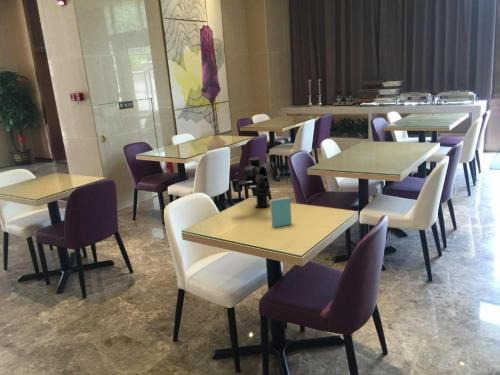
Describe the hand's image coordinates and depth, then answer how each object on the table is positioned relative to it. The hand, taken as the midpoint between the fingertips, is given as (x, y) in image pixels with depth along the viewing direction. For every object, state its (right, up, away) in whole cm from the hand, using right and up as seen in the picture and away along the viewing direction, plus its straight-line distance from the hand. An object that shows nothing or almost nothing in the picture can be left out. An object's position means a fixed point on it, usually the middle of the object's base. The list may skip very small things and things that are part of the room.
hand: (245, 190), depth 205 cm
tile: (+17, -16, -4) cm, 24 cm away
